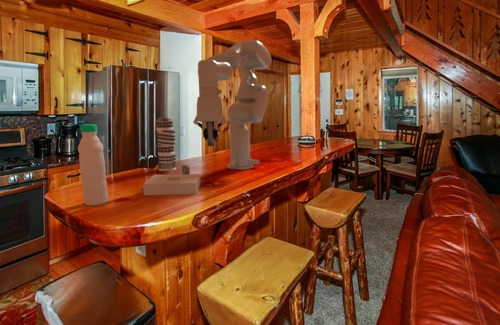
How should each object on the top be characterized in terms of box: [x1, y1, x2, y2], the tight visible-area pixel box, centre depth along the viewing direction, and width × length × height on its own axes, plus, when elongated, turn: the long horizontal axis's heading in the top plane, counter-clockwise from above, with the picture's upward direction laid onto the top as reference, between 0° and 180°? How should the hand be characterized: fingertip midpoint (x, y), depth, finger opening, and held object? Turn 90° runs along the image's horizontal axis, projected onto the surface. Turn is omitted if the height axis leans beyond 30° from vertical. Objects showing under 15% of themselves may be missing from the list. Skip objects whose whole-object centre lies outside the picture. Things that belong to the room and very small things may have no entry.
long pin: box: [205, 122, 216, 147], centre depth 122 cm, size 3×3×11 cm
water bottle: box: [77, 123, 109, 207], centre depth 94 cm, size 7×7×25 cm
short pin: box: [181, 164, 191, 174], centre depth 128 cm, size 3×3×6 cm
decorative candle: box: [154, 117, 177, 172], centre depth 145 cm, size 9×9×25 cm
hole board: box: [143, 173, 201, 196], centre depth 111 cm, size 18×14×4 cm
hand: (210, 138), depth 122 cm, fingers closed on long pin, 3 cm apart
